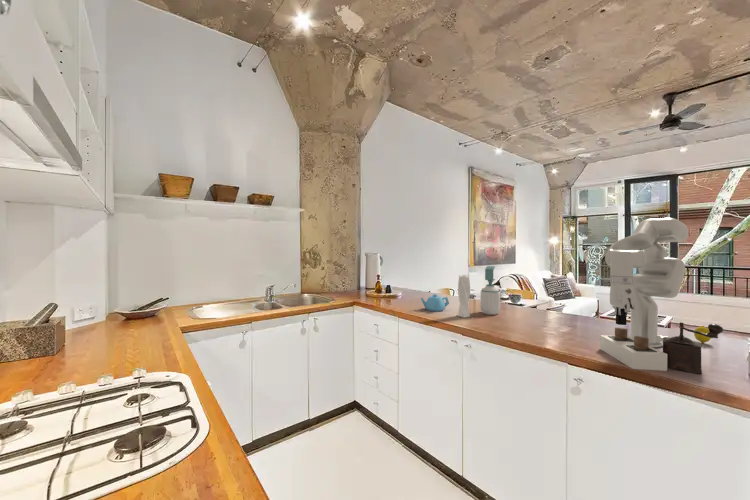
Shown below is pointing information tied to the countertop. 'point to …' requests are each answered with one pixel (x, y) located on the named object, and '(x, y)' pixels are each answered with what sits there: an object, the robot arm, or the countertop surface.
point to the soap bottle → (490, 294)
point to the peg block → (633, 354)
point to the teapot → (435, 303)
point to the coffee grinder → (687, 349)
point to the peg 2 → (641, 343)
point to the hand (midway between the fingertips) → (620, 324)
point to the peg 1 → (620, 333)
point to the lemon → (701, 337)
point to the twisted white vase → (464, 296)
